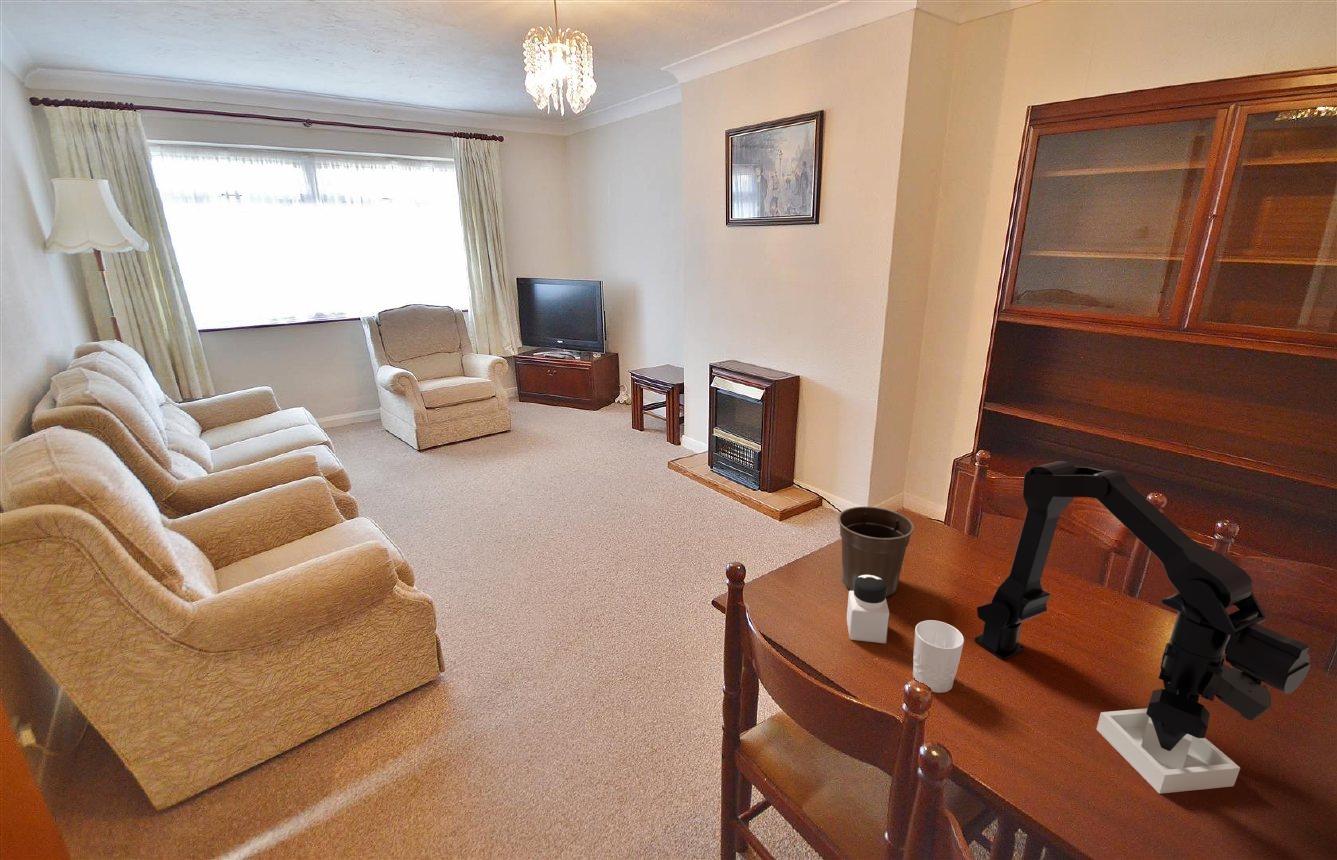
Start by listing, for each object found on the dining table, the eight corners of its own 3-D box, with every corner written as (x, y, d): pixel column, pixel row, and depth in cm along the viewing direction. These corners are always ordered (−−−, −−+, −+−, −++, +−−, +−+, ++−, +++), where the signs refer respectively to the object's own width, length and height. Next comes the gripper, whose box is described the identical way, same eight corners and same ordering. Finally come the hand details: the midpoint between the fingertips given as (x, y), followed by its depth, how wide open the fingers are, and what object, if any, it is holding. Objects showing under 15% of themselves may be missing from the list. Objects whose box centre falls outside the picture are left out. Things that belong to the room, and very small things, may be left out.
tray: (1233, 786, 85) (1240, 767, 84) (1159, 793, 84) (1165, 775, 83) (1162, 723, 96) (1168, 706, 95) (1096, 729, 95) (1100, 712, 94)
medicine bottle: (886, 644, 116) (892, 592, 112) (849, 640, 117) (854, 588, 113) (881, 622, 122) (887, 572, 118) (846, 618, 124) (850, 569, 120)
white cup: (953, 670, 108) (961, 624, 105) (959, 700, 101) (966, 652, 98) (908, 661, 111) (914, 616, 108) (910, 690, 104) (916, 643, 101)
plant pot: (847, 558, 147) (852, 499, 142) (914, 577, 138) (922, 516, 133) (822, 588, 134) (827, 526, 129) (894, 612, 125) (902, 546, 120)
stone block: (1181, 773, 86) (1191, 741, 84) (1138, 753, 90) (1148, 722, 88) (1185, 753, 90) (1195, 722, 88) (1144, 734, 93) (1153, 704, 91)
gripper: (1275, 711, 72) (1239, 806, 76) (1277, 639, 84) (1246, 725, 89) (1159, 667, 79) (1133, 756, 84) (1177, 607, 92) (1153, 687, 96)
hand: (1169, 730), depth 88 cm, fingers open, 9 cm apart
